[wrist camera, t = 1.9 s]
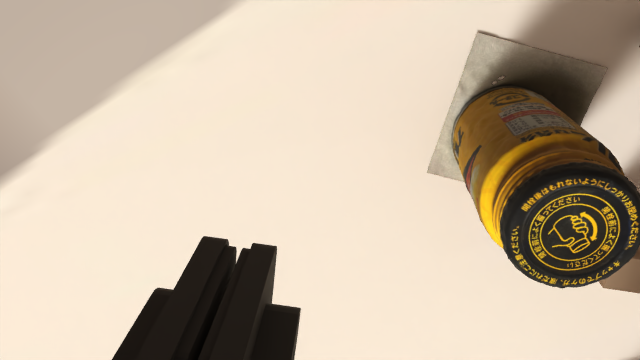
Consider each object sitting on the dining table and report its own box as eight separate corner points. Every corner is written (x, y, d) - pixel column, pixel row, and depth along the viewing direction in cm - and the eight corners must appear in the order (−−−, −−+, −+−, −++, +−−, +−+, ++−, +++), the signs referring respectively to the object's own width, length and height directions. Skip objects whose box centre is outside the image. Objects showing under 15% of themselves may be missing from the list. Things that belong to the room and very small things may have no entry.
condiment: (426, 171, 32) (456, 283, 21) (476, 31, 29) (543, 78, 18) (542, 201, 32) (632, 329, 21) (605, 66, 29) (751, 134, 18)
